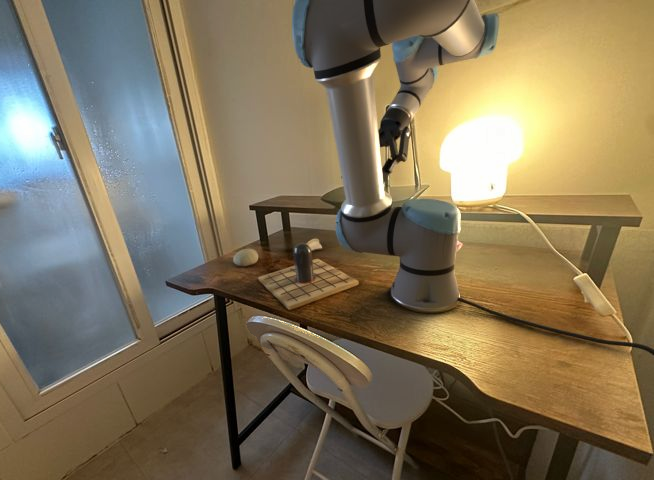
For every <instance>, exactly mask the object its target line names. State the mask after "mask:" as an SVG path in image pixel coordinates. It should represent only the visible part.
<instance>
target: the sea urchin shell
mask: <svg viewBox="0 0 654 480" xmlns="http://www.w3.org/2000/svg"><path fill="white" fill-rule="evenodd" d="M258 260H259V254H258V252H257V250H255V249H254V248H243V249H241V250H239V251H237V252H236V253H235V254H234V255H233V258H232V262H233V263H234V265H236V266H238V267H245V268H246V267H249V266H252V265H254V264H256V263H257V262H258Z"/></svg>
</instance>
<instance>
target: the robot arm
mask: <svg viewBox="0 0 654 480" xmlns="http://www.w3.org/2000/svg"><path fill="white" fill-rule="evenodd" d="M499 28H500V15H499V13H498V12H493V13H488V14H487V13H484V14H482V15H481V13H480V10H479V8H478V5H477V3H476V1H475V0H294V5H293V7H292V14H291V32H292V33H291V34H292V43H293V47H294V50H295V54H296V56H297V58H298V59H300V63H301V64H302V65H303V66H304V67H306V68H309V69H313V74H314V80H315V81H316V82H317V83H319V85H322V86H323V87H324V88H325V92H326V97H327V103H328V108H329V109H328V110H329V114H330V120H331V125H332V131H333V135H334V137H333V138H334V141H335V147H336V154H337V159H338V163H339V169H340V174H341V175H340V178H341V180H342V186H343V191H344V197H345V199H344V201H343V202H342V203H341V206H340V209H339V210H338V212H337V214H336V217H335V223H336V224H335V228H334V229H335V235H336V238H337V241H338V243H339V244H340V246H341V247H342V248H343V249H344V250H347V251H351V252H355V253H359V254H364V253H365V254H375V255H381V256H382V255H384V256H389V257H390V256H391V257H399V267H398V270H397V273H396V275H395V278H394V280H393V283H392V284H391V289H390V298H391V300H392V301H393V302H394V303H395V304H396V305H397V306H399V307H401V308H403V309H405V310H409V311H412V312H417V313H423V314H439V313H443V312H444V313H445V312H447V311H450V310H453V309H454V308H456V307H457V306H458V305H459V302H461V303H464V304H466V305H469V306H471V307H474V308H476V309H478V310H480V311H483V312H486V313H488V314H491V315H494V316H497V317H499V318H502V319H505V320H509V321H512V322H516V323H519V324H523V325H526V326H530V327H535V328H536V329H537V328H538V329H542V330H545V331H548V332H553V333H556V334H559V335H564V336H568V337H572V338H577V339H580V340H585V341H588V342H594V343H598V344H603V345H608V346H618V347H628V348H635V349H640V350H643V351H646V352H648V353H650V354H651V355H652V356H654V348H652V347H650V346H648V345H645V344H641V343H638V342H629V341H619V340H609V339H603V338H598V337H595V336H589V335H585V334H581V333H580V334H579V333H576V332H572V331H569V330H564V329H559V328H557V327H556V328H555V327H551V326H547V325H544V324H539V323H535V322H532V321H528V320H526V319H522V318H517V317H515V316H511V315H508V314H505V313H502V312H498V311H495V310H493V309H490V308H487V307H485V306H483V305H480V304H477V303H475V302H473V301H470V300H468V299H464V298H462V297H461V294H460V288H459V285H458V280H457V277H456V273H455V266H456V259H457V252H458V251H457V244H458V241H459V235H460V232H461V230H462V228H461V218H462V217H461V216H462V215H461V211H460V209H459V208H458V206H456V205H455V204H453V203H451V202H448V201H445V200H441V199H435V198H410V199H407V200H404V202H402V204H401V206H398V205H397V206H395V205H393V198H392V195H391V193H388V192H387V191H385V185H384V184H385V182H386V181H387V179H388V177H389V176H390V175H391V174H392V173H393V172H394V170H395V169H396V167H397V165H398V164H399V163H402V162H403V163H405V162H407V160H408V153H409V143H410V138H411V136H412V133H413V132H412V131H411V129H410V127H409V126H410V125H411V122H412V121H413V119H414V117H415V115H416V114H417V113H418V111H419V109H420V107H421V105H422V104H423V102H424V100H425V98H426V97H427V95H428V94H429V92H430V91H431V90H432V89H433V87H434V84H435V81H436V79H437V77H438V75H439V68H438V67H440V66H444V65H449V64H455V63H458V62H462V61H467V60H472V59H475V60H476V59H479V58H481V57H484V56H488V55H490V54H493V52H494V51H495V49H496V46H497V41H498V35H499ZM388 45H389V46H390V45H391V49H392V55H393V62H394V65H395V68H396V73H397V76H398V80H399V84H400V87H399V89H398V90H397V92H396V94H395V96H394V98H393V99H392V101H391V102H390V104H389V106H388V108H387V109H386V111H385V113H384V115H383V117H382V118H381V119H380V124H379V122H378V111H377V101H376V90H375V78H374V71H375V69H376V68H377V66H378V64H379V63H380V61H381V59H382V53H381V47H385V46H388ZM379 126H380V127H379ZM397 140H399V145H398V143H397ZM383 147H385V148H389V152H390V157H388V158H387V159H386V161H385V163H384V164H382V154H381V148H383ZM456 251H457V252H456Z"/></svg>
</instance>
